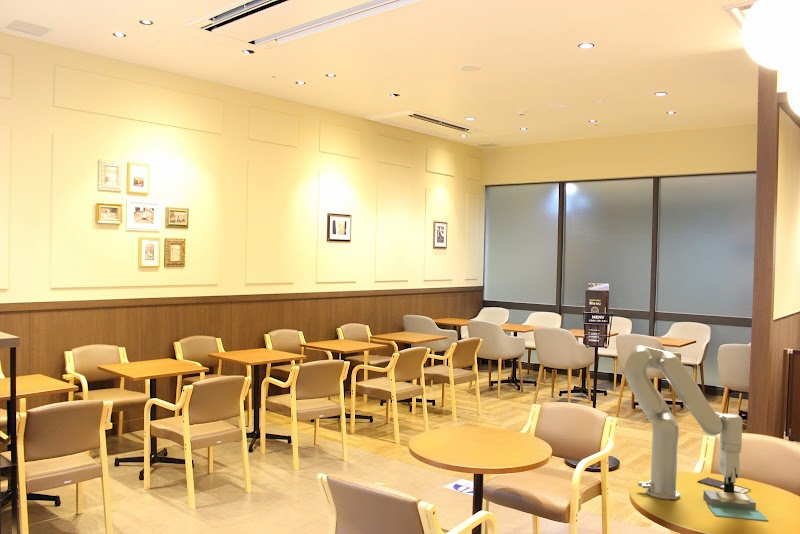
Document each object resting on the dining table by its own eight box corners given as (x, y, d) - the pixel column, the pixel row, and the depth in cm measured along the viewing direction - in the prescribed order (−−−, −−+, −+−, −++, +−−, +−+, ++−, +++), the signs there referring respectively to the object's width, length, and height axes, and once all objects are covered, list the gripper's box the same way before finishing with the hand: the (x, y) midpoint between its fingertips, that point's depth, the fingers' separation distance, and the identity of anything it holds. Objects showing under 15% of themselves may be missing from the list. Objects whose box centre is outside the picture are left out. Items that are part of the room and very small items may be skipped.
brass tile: (721, 501, 250) (721, 497, 250) (716, 495, 257) (716, 491, 257) (749, 504, 248) (750, 500, 248) (743, 498, 255) (744, 493, 255)
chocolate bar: (708, 477, 287) (750, 489, 273) (707, 479, 287) (750, 491, 273) (697, 480, 282) (740, 493, 268) (697, 483, 282) (740, 495, 268)
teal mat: (715, 516, 243) (715, 515, 243) (707, 506, 253) (707, 505, 253) (768, 521, 240) (768, 520, 240) (758, 511, 250) (758, 510, 250)
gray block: (710, 506, 253) (710, 498, 253) (703, 497, 263) (703, 489, 263) (755, 510, 250) (755, 502, 250) (746, 501, 260) (747, 493, 260)
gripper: (714, 440, 265) (712, 486, 265) (726, 451, 250) (724, 499, 251) (734, 442, 264) (732, 488, 264) (747, 452, 249) (745, 501, 249)
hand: (728, 493), depth 257 cm, fingers closed
